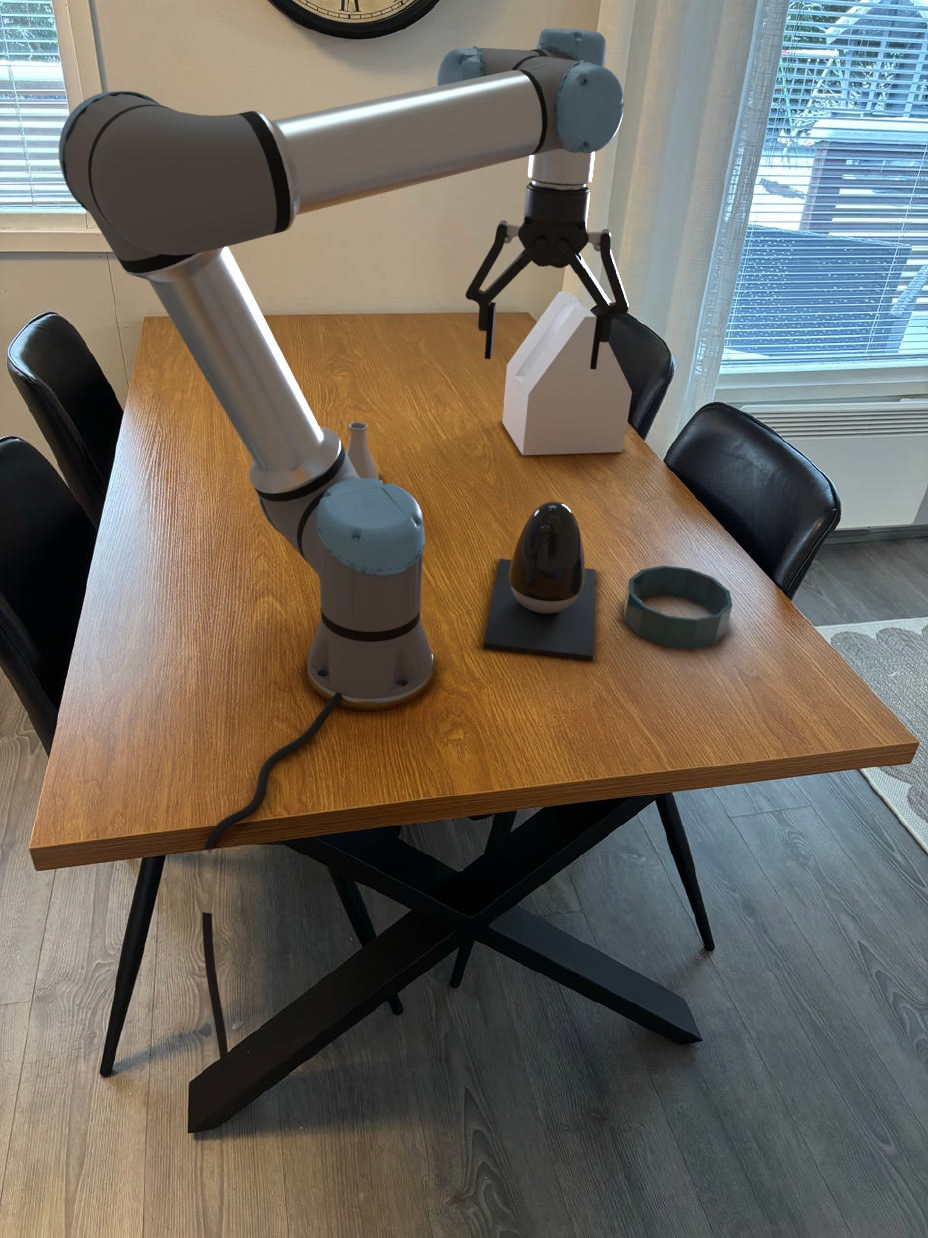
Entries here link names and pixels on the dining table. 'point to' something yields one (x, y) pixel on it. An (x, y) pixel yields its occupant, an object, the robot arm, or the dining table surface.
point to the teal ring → (671, 627)
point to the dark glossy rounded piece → (548, 560)
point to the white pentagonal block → (565, 387)
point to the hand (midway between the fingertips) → (540, 361)
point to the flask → (361, 451)
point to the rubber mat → (541, 622)
